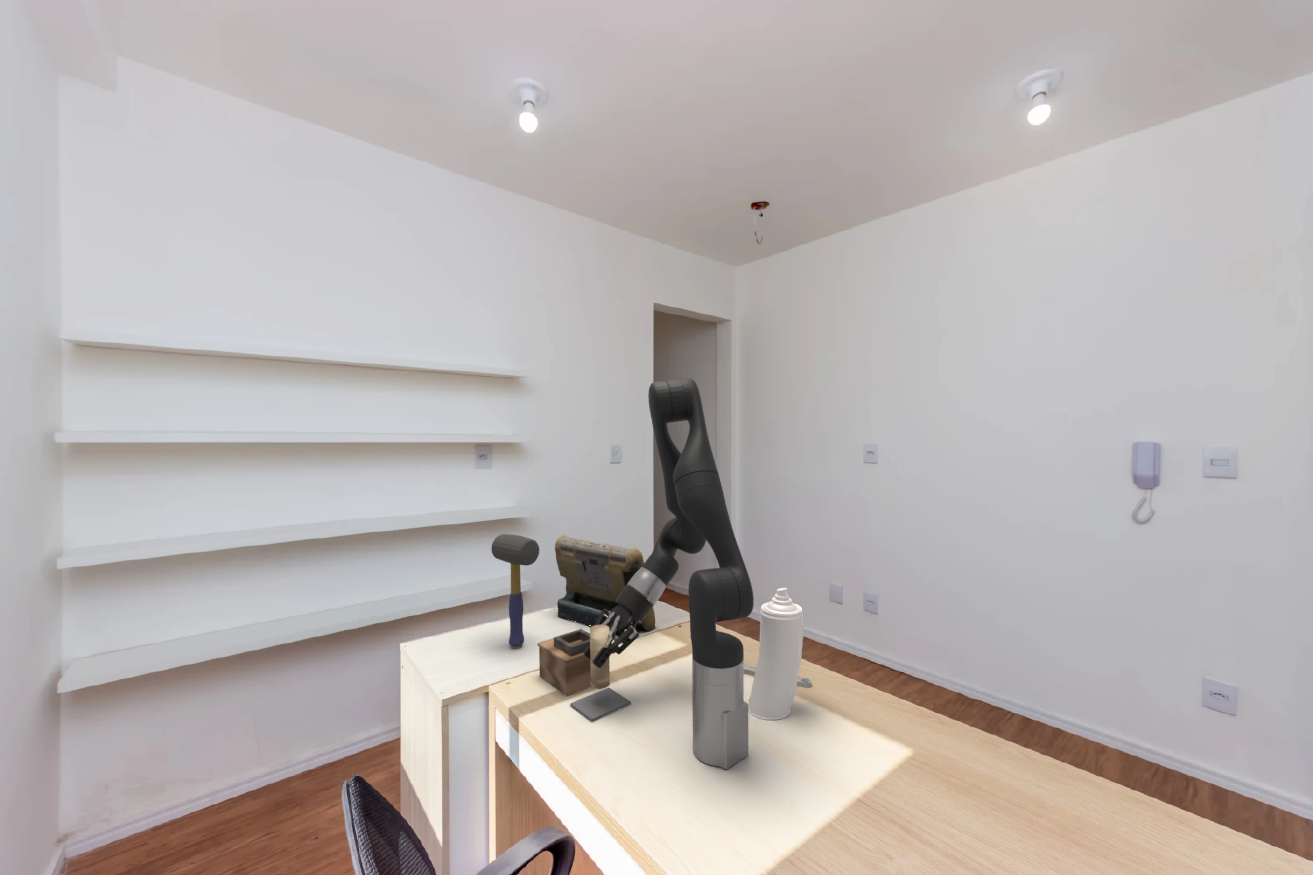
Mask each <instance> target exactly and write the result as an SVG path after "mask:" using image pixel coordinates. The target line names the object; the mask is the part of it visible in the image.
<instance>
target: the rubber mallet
mask: <svg viewBox="0 0 1313 875" xmlns="http://www.w3.org/2000/svg"><path fill="white" fill-rule="evenodd" d="M490 549H491V554H492V556H493V557H494V558H495V559H497V560H499V561H502V562H505V563H508V564H510V594H509V600H508V601H509V602H508V616H509V639H508V643H509V646H510V648H512V649H519V648H522V647H523V644H524V642H525V635H524V632H523V631H524V629H523V627H524V626H523V619H524V618H523V617H524V600H523V592H522V590H521V588H522V586H521V582H522V581H521V566H524V567H525V566H531V565H533V564H534V563H535V562H536V561H537V559H538V558H539V555H540V546H539V544H538V542H537V541H536V540H535V539H533V538H529V537H525V536H522V535H519V534H518V535H517V534H508V533H507V534H505V533H503V534H499V535H497V536H496V537H495V538H494V539H493V541H492V543H491V548H490Z"/></svg>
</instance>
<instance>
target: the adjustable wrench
mask: <svg viewBox="0 0 1313 875" xmlns="http://www.w3.org/2000/svg"><path fill="white" fill-rule="evenodd" d="M755 671H756V666H752V665H747V664H744V675H748V676H752V677H754V676H755ZM796 687H801V688H805V689H807V688H811V687H812V679H810V678H808V677H804V676H800V675H798V681H797V686H796Z"/></svg>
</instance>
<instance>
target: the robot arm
mask: <svg viewBox="0 0 1313 875" xmlns="http://www.w3.org/2000/svg"><path fill="white" fill-rule="evenodd" d="M647 398H648V405H649V406H648V408H649V413H650V419H651V423H652V428H653V433H654V438H655V442H656V448H657V452H658V456H659V460H660V465H661V469H662V475H663V481H664V482H663V483H664V484H663V485H664V494H665V503H666V506H667V509H668V511H669V512H671V513H672V515H674V516H675V517H673V518H671V519H670V520H668V521H666V523H665V525H663V527H662V529H661V530H660V531H661V532H659V536H658V538H657V541H656V543H655V545H654V548H653V549H652V552H651V554H650V555H649V556H648V558H647V559H646V560H645V561H644V564H643V566H642V567H641V568H640V569H639V570H638V571H637V572H636V573H635V574H634V576H633V577H632V578H631V580H630V581H629V582H628V584H627V585H626V586H625V587H624V589H623V590H622V591H621V593H620V594H619V595H618V597H617V598H616V602H617V606H616V607H615V608H614V609H612V611H608V610H607V609H606V608H605V609H603V610H602V612H601V614H600V616H599V618H598V620H597V622H596V624H595V625H607V626H608V627H609V630H610V631H609V634H608V636H609V638H608V640H607V642H606V644H605V646H604V647H605V648H604V647H603V648H602V649H601V650H600V651H599V653H598V654H597V655H596V657H595V658H594V660H593V664H594V665H596V666H597V667H598V668H601V667H602V666H603V665H604V663H605V662H606V660H607V659H608V658H609V659H610V656H612V654H617V655H621V653H623V652H624V651H625V650H626V649H627V648H629V646H631V644H632V643H634V642H635V641H636V640H637V639H638V638H639V636H640V633H639V632H638V631H637V629H636V630H635V628H634V627H635V625H636V623H637V621H638V620H639V622H640V621H643V620H644V619H645V617H646V616H647V615H648V613H649V612H650V610H651V609H652V608H653V609H654V606H655V605H656V604H657V602H658V601H659V599H660V598H661V596H662V595H663V593H664V591H665V589H666V588H667V586H668V585H669V584H670V582H671V581H672V580H673V578H674V576H675V575H676V574H677V573H678V571H679V568H680V567H679V566H680V564H679V562H678V561H677V559H676V558H675V555H676V552H677V551H678V550H680V551H682V552H684V553H687V554H690V555H695V554H698V553H700V552H701V551H702V550H703V548H704V547H705V546H706V542H707V543H708V545H709V546H710V548H711V550H712V551H713V553H714V556H715V558H716V561H717V563H718V567H716V568H715V567H714V568H706V569H705V568H704V569H699V570H698V569H697V570H695V571H694V572H692V574H691V576H690V578H689V580H688V581H689V582H688V592H687V593H688V594H687V595H688V609H689V610H688V611H689V625H690V626H689V629H690V630H689V631H690V632H689V633H690V641H691V642H690V644H691V651H692V653H691V655H692V656H691V658H692V659H691V662H692V668H691V670H692V672H691V674H692V675H691V676H692V678H691V679H692V685H691V688H692V690H691V691H692V694H691V695H692V751H693V754H694V755H695V757H696V758H697V759H698V760H699V761H701V762H702V763H705V764H707V765H710V766H713V767H721V768H722V769H724V770H728V769H729V768H731V767H732V766H734V765H735V764H737V763H738V762H740V761H741V760H743V759H744V758H746V757H748V756H749V711H748V702H746V701H744V699H745V698H744V697H745V696H744V690H745V688H744V686H745V684H744V683H745V682H744V677H745V676H744V675H745V674H744V665H745V664H744V656H745V654H744V652H745V651H744V645H743V642H742V641H741V640H740V639H739V638H738V637H736V635H732V634H730V633H727V632H724V631H719V630H717V623H719V622H725V621H733V620H739V619H745V618H747V617H749V616H750V615H751V614H752V612H753V609H754V601H755V600H754V599H755V598H754V591H753V585H752V582H751V578H750V576H749V573H748V569H747V566H746V564H745V560H744V559H743V555H742V553H741V549H740V547H739V545H738V542H737V538H736V535H735V533H734V529H733V525H732V522H731V519H730V515H729V512H728V508H727V504H726V500H725V496H724V489H723V486H722V482H721V478H720V474H719V471H718V468H717V465H716V461H715V457H714V454H713V451H712V446H711V443H710V439H709V434H708V430H707V425H706V420H705V413H704V409H703V408H704V407H703V404H702V398H701V393H700V389H699V386H698V385H697V382H696V381H695V379H693V378H690V377H685V378H684V377H683V378H677V379H676V378H675V379H669V380H668V379H667V380H661V381H653V382H651V383H650V385H649V388H648V397H647ZM684 421H685V422H688V425H689V431H688V435H687V439H686V441H685V444H684V447H683V449H682V451H680V450H679V449H678V447H677V446H676V444H675V443H674V442H673V440H672V437H671V436H670V434H669V433H670V432H669V428H668V423H669V424H670V423H678V422H684ZM637 624H638V623H637ZM584 655H585V656H586V657H588V658H589V659H590V644H589V646H588V647H587V648H586V650H585V651H584Z"/></svg>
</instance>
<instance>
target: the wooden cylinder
mask: <svg viewBox="0 0 1313 875" xmlns="http://www.w3.org/2000/svg"><path fill="white" fill-rule="evenodd" d="M589 633H590V663H591V687H590V688H593V689H595V690H604V689H606V688H608V687H610V684H611V683H610V679H611V677H610V673H611V672H610V670H611V668H610V664H611V663H610V657H609V658H608V659H607V660H606V662H605V663H604V665H603V666H602V667H601V668H598V667H597V666H596V665H594V664H593V660H594V658H595V657H596V655H597V654H598V653H599V651H600V650H601V649H602V648H603V647H604V646H605V644H606V642H607V640H608V638H609V636H608V634H609V627H608V626H607V625H595V626H592V627H590V628H589ZM604 648H605V647H604Z"/></svg>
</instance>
